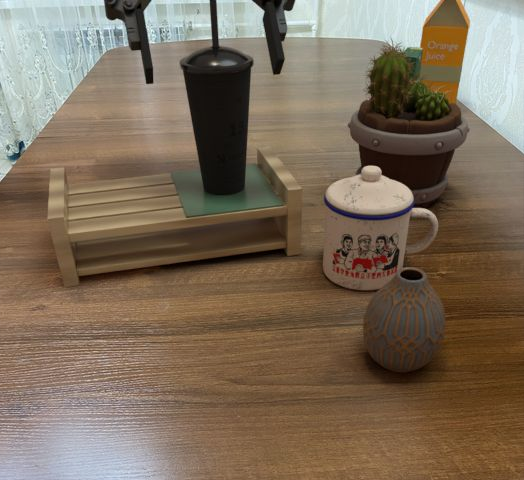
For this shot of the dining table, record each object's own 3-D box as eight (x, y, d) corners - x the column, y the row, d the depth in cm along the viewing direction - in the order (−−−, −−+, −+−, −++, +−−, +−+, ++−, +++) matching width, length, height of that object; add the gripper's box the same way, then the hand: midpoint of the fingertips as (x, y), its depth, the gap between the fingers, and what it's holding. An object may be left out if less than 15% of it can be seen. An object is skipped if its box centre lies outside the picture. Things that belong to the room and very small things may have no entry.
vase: (362, 332, 58) (371, 250, 53) (437, 340, 57) (453, 257, 51) (356, 378, 53) (365, 292, 47) (438, 388, 51) (457, 300, 46)
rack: (64, 230, 76) (50, 168, 71) (269, 205, 81) (269, 146, 76) (64, 287, 65) (47, 218, 60) (300, 254, 70) (302, 188, 65)
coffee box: (397, 127, 106) (406, 45, 98) (413, 129, 105) (424, 45, 97) (388, 142, 100) (398, 55, 92) (406, 144, 99) (417, 56, 91)
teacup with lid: (322, 293, 64) (327, 186, 56) (318, 251, 71) (323, 152, 64) (438, 293, 63) (458, 186, 56) (422, 251, 70) (438, 151, 63)
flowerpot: (424, 170, 90) (447, 18, 78) (475, 213, 78) (511, 42, 66) (330, 180, 88) (338, 25, 76) (367, 226, 76) (384, 51, 64)
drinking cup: (177, 191, 70) (155, -9, 58) (218, 170, 75) (206, -19, 63) (230, 206, 66) (219, -4, 54) (269, 183, 71) (267, -15, 59)
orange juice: (410, 114, 112) (426, -11, 100) (414, 101, 118) (429, -18, 106) (454, 117, 110) (476, -10, 98) (455, 104, 117) (476, -17, 105)
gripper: (56, -143, 59) (88, 57, 57) (301, -145, 64) (340, 41, 62) (67, -79, 67) (96, 100, 64) (286, -85, 71) (320, 83, 69)
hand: (215, 72), depth 63 cm, fingers open, 13 cm apart
